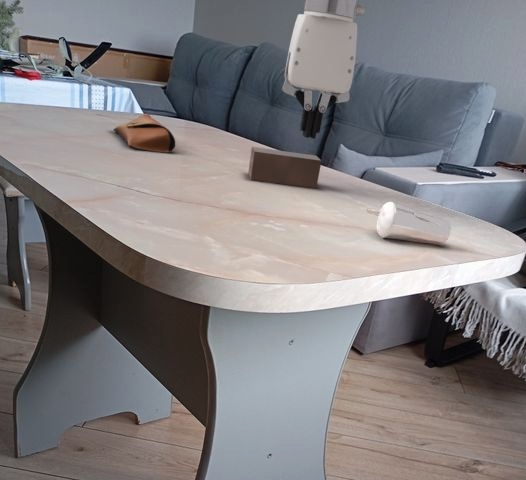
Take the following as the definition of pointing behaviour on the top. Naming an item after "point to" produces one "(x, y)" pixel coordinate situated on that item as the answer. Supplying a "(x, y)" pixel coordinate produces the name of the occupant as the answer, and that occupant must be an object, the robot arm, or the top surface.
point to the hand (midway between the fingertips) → (308, 136)
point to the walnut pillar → (284, 167)
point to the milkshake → (410, 225)
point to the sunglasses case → (147, 134)
